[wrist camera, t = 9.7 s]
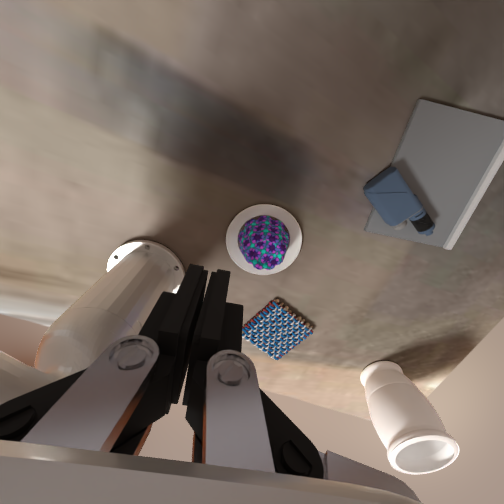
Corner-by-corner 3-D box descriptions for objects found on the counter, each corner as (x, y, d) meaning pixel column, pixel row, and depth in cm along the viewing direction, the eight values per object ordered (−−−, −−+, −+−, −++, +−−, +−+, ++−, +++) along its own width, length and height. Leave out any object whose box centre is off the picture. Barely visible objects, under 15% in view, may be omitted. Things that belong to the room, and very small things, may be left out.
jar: (346, 386, 55) (377, 470, 41) (367, 351, 51) (410, 431, 37) (391, 395, 56) (436, 479, 42) (416, 361, 52) (475, 442, 38)
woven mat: (276, 356, 52) (277, 364, 50) (236, 328, 49) (236, 336, 47) (315, 326, 49) (317, 333, 47) (275, 294, 46) (276, 300, 44)
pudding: (216, 258, 43) (211, 273, 38) (242, 190, 38) (241, 198, 33) (281, 282, 45) (285, 299, 40) (314, 220, 40) (323, 231, 35)
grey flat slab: (445, 247, 41) (451, 250, 40) (363, 229, 40) (366, 232, 39) (515, 125, 34) (524, 124, 33) (417, 99, 33) (423, 98, 32)
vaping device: (392, 163, 36) (432, 225, 39) (359, 188, 37) (400, 245, 41) (401, 166, 33) (442, 231, 37) (365, 192, 35) (408, 252, 39)
